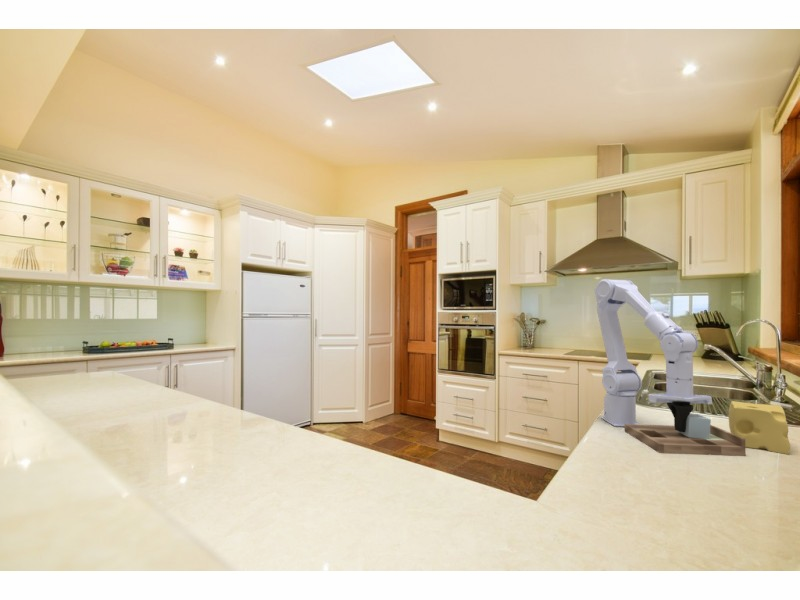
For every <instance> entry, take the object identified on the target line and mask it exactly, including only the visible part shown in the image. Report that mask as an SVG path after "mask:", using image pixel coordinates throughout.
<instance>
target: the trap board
mask: <svg viewBox="0 0 800 600" xmlns="http://www.w3.org/2000/svg"><path fill="white" fill-rule="evenodd" d="M625 431H626V432H625ZM624 432H625V433H627V434H628V433H629V435H630V436H632V437H634V438H635V439H636V440H638V441H640V442H642V443H643V444H644V445H646V446H648V447H650V448H651V449H652V450H655V451H656V452H658V453H660V454H683V455H684V454H685V455H687V454H688V455H709V454H711V455H713V456H743V457H745V456H746V453H747V452H746V447H745V438H742V437H740V436H737V435H735V434H732V433H731V431H730V432H729V431H727V430H725V429H722V428H719V427H718V426H715V425H712V424H710V439H701V438H690V437H687V436H685V435H683V434H681V433H679V432H677V430H675V426H674V425H666V424H665V425H664V424H663V425H662V424H659V425H658V424H640V425H636V424H625V427H624Z"/></svg>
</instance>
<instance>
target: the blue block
mask: <svg viewBox="0 0 800 600" xmlns="http://www.w3.org/2000/svg"><path fill="white" fill-rule="evenodd" d="M711 421H712V419H711V418H708V417H706V416H703V415H700V414H698V413H690V414H689V416H688V417H687V419H686V430H685V432H679V431H677V432H679V433H681V434H683V435H685V436H687V437H690V438H701V439H710V425H711V423H712V422H711Z"/></svg>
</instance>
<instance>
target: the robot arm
mask: <svg viewBox="0 0 800 600" xmlns="http://www.w3.org/2000/svg"><path fill="white" fill-rule="evenodd" d="M638 289H639V288H638V286H637V285H636V284H634V282H633V281H632V280H629V279H609V278H604V279H603V278H602V279H600V281H599V282H598V283H597V285H596V286H595V288H594V294H595V299H596V312H597V316H598V317H597V318H598V321H599V326H600V327H599V328H600V331H601V336H602V339H603V340H602V341H603V345H604V350H605V354H606V358H607V363H606V365H605V366H604V367H603V368H602V370H601V371H602V380H601V381H602V386H603V388H604V390H605V391H606V393H605V396H604V397H603V398H604V399H603V414H604V415H603V416H600V417H601V418H600V419H602V420H604V421H605V422H607V423H609V424H610V425H612V426H614V427H624V428H625V424H636V425H641V424H640V423H638V422H637V420H636V419H637V413H636V412H637V409H636V405H637V403H636V401H637V398H636V396H637V395H638V392H639V391H640V390H641V389H642V386H643V381H642V378H641V375H639V373H638V371H637V368H636V366H635V365H633V363H631V361H629V360H628V355H627V350H626V346H625V345H626V344H625V342H624V337H623V332H622V329H621V324H620V319H619V315H618V311H619V309H620V308H621V307H623V306H624V305H625V304H626V303H627V304H628V305H629V306H630V307H631V308H632V309H633V310H635V311H636V312H637V313H638V314H639V315H640V316H641V317H643V319H644V326H645V327H647V329H648V330H649V331H650V332H651V333H652V334H653V335H654V336H655V337H656V338H657V339H658V340H659V341H660V342H659V345H660V349H661V351H662V352H663V353H664V356H663V357H664V359H665V370H666V371H665V376H666V377H665V379H666V380H665V381H666V385H665V387H666V392H664V393H649V394H648V402H650V403H652V404H653V403H655V404H657V403H666V405H667V407H668V409H669V410H670V412H671V414H672V416H673V418H674V419H673V421H674V424H673V426H675V430H677V431H679V432H685V430H686V419H687V417H688V416H689V414H692V412H693V409H694V404H707V405H713V398H712V396H710V395H705V394H694V360H693V359H694V358H693V357H694V356H693V354H694V353H695V352H697V350H698V347H699V341H698V339H697V337H696V336H695V334H694V333H693V332H690V331H685V330H683V327H681V326H678V325H677V323H675V322H674V321H673V320H672V319H671V318H670V316H671V315H670V314H669V313H668V312H663V311H656V309H655V308H654V307H653V306H652V305H651V303H649V302H648V300H647V299H646V298H645V297H644V296H643V295H642V294H641V293H640V291H639V290H638Z"/></svg>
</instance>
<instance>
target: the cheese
mask: <svg viewBox="0 0 800 600" xmlns="http://www.w3.org/2000/svg"><path fill="white" fill-rule="evenodd" d="M785 412H786V411H785V410H784V409H783V407H782V406H781V405H780V404H779V405H778V404H764V403H762V404H761V403H753V402H752V403H751V402H741V401H736V400H735V401H734V400H731V401H730V405H729V409H728V425H729V426H728V427H729V431H730V433H732V434H735V435H737V436H740V437H742V438H745V448H748V449H762V450H763V449H764V450H766V451H768V452H773V453H779V454H784V455H789V453H790V448H791V445H790V444H791V443H790V440H789V437H788V436H789V435H788V433H789V425H788V422H787V418H786V413H785Z"/></svg>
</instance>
